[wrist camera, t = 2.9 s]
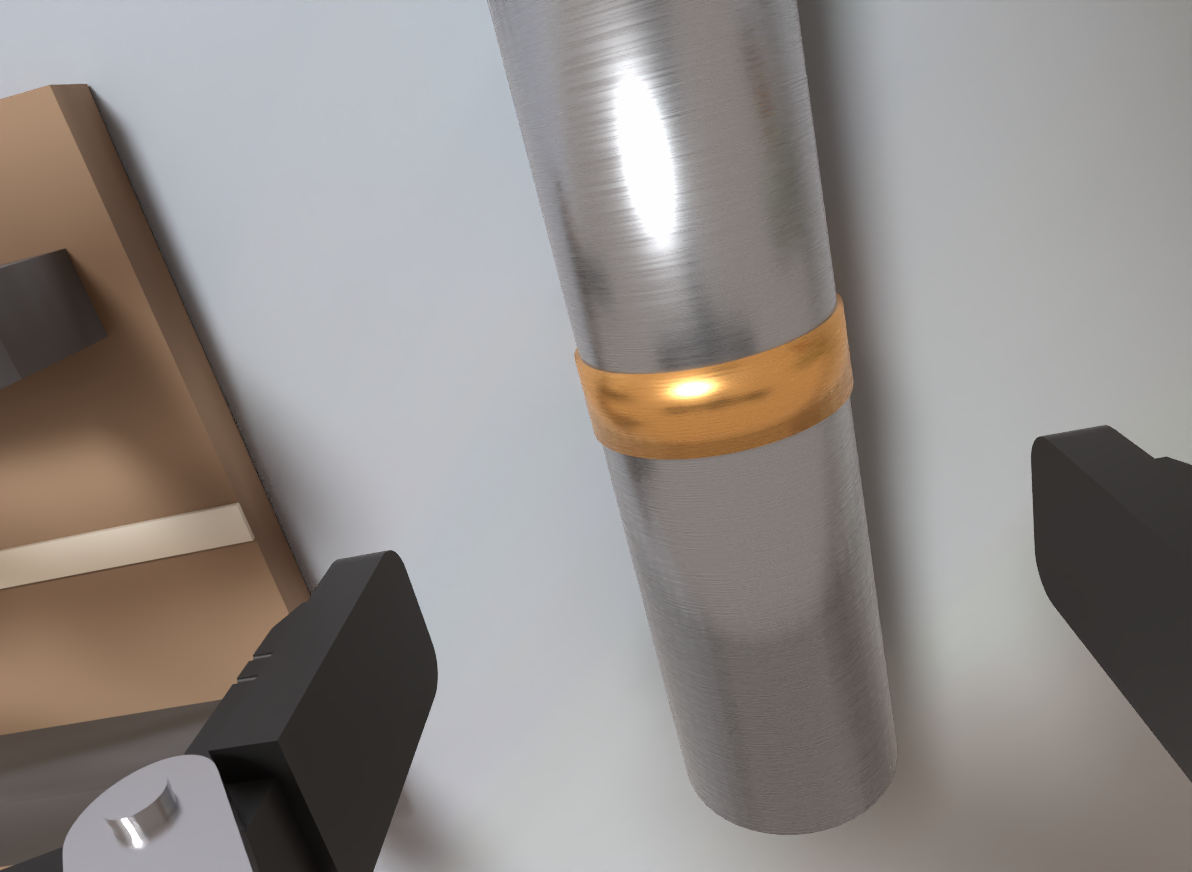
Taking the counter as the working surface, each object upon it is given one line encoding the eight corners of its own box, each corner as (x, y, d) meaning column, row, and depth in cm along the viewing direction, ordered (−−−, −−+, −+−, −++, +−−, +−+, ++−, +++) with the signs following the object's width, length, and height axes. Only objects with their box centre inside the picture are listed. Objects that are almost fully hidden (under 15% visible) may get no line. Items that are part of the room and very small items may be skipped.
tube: (458, -152, 16) (391, -257, 11) (736, -235, 15) (795, -383, 10) (674, 695, 23) (692, 856, 18) (865, 660, 23) (935, 816, 18)
